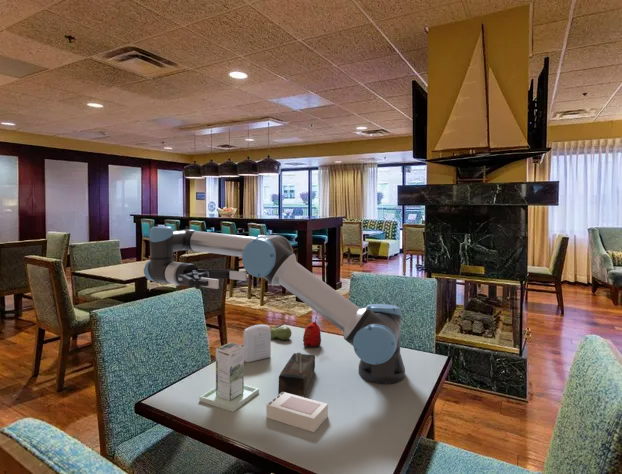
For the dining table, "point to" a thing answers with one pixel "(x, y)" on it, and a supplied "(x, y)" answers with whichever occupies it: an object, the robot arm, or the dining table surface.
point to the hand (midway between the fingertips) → (232, 280)
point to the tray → (225, 404)
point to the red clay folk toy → (312, 335)
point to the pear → (281, 333)
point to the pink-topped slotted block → (297, 411)
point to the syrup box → (229, 371)
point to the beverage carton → (297, 374)
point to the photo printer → (257, 342)
